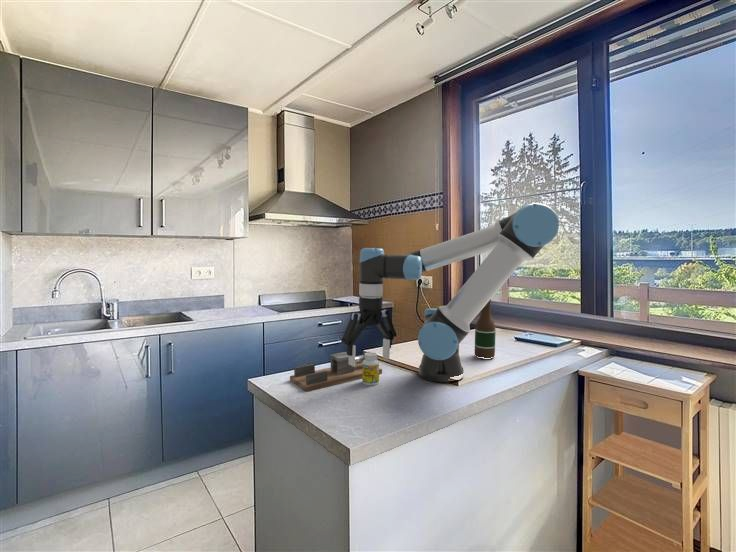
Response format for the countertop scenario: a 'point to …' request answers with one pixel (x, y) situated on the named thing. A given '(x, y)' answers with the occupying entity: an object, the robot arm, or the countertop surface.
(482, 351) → the beer bottle
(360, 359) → the shaft
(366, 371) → the supplement bottle
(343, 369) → the base
